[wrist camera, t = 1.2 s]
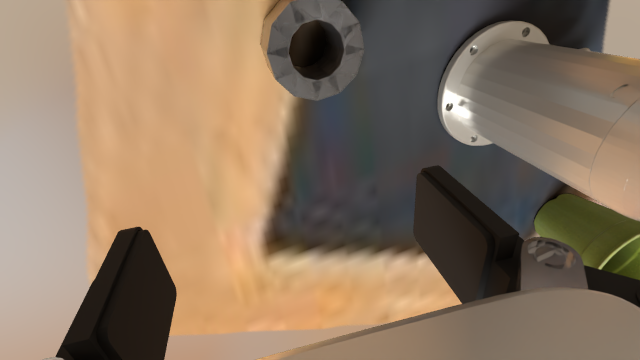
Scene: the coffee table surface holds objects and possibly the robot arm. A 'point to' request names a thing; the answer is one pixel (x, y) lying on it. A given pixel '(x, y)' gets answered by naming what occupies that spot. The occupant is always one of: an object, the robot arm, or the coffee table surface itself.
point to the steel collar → (339, 56)
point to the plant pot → (593, 233)
